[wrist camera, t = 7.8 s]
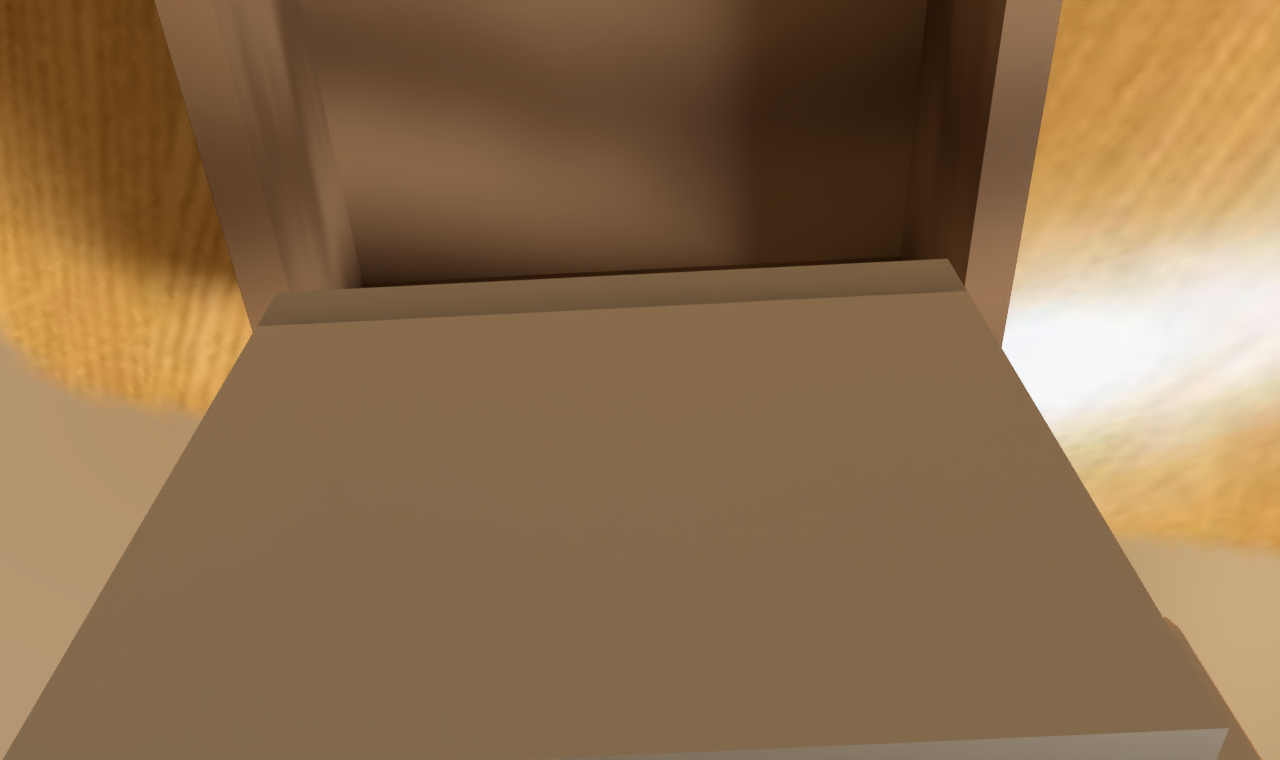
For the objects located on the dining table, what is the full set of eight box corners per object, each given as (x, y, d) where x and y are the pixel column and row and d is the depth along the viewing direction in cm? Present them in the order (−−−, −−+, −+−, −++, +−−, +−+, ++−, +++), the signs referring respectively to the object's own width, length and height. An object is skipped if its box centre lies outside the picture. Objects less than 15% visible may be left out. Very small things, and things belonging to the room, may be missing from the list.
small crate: (277, 292, 9) (-11, 785, 5) (948, 258, 9) (1230, 728, 5) (396, 724, 12) (284, 1241, 8) (888, 703, 12) (1027, 1210, 8)
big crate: (222, -202, 21) (102, -174, 16) (987, -243, 21) (1102, -229, 16) (341, 300, 28) (281, 429, 23) (924, 270, 28) (993, 394, 23)
